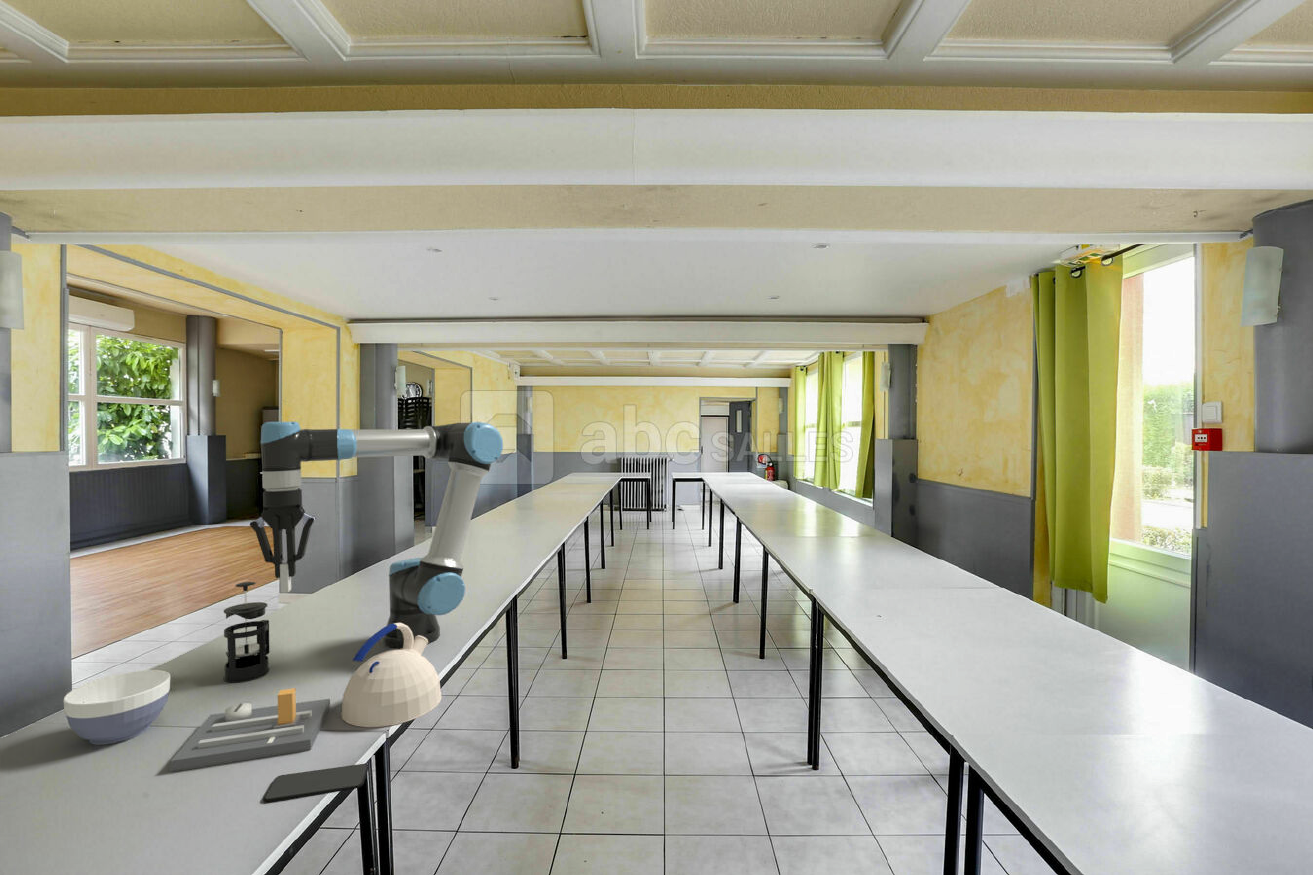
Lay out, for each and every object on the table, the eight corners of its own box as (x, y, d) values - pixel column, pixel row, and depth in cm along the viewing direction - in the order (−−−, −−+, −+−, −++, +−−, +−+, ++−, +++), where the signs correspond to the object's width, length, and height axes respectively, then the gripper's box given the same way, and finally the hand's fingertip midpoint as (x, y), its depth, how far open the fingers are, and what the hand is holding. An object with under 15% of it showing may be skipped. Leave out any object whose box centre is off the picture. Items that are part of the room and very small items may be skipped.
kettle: (461, 691, 137) (460, 614, 137) (395, 735, 118) (393, 645, 117) (391, 680, 144) (390, 606, 144) (317, 720, 124) (316, 634, 124)
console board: (330, 707, 130) (329, 688, 130) (310, 749, 113) (310, 727, 112) (210, 724, 123) (210, 704, 123) (170, 771, 106) (170, 748, 105)
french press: (246, 684, 141) (245, 589, 141) (211, 683, 143) (209, 588, 142) (283, 665, 153) (281, 576, 153) (250, 663, 154) (248, 575, 154)
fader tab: (300, 719, 120) (299, 685, 120) (294, 729, 116) (294, 694, 116) (280, 722, 119) (279, 688, 119) (273, 733, 115) (272, 697, 115)
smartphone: (362, 785, 101) (260, 800, 96) (362, 790, 101) (260, 806, 96) (369, 761, 108) (275, 775, 103) (369, 766, 108) (275, 780, 103)
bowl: (79, 763, 108) (78, 711, 108) (53, 739, 117) (52, 691, 117) (184, 726, 122) (183, 680, 122) (154, 707, 130) (153, 664, 130)
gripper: (318, 485, 141) (321, 583, 142) (254, 488, 137) (257, 589, 138) (311, 488, 134) (314, 592, 135) (243, 492, 130) (247, 598, 130)
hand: (286, 590), depth 136 cm, fingers closed
